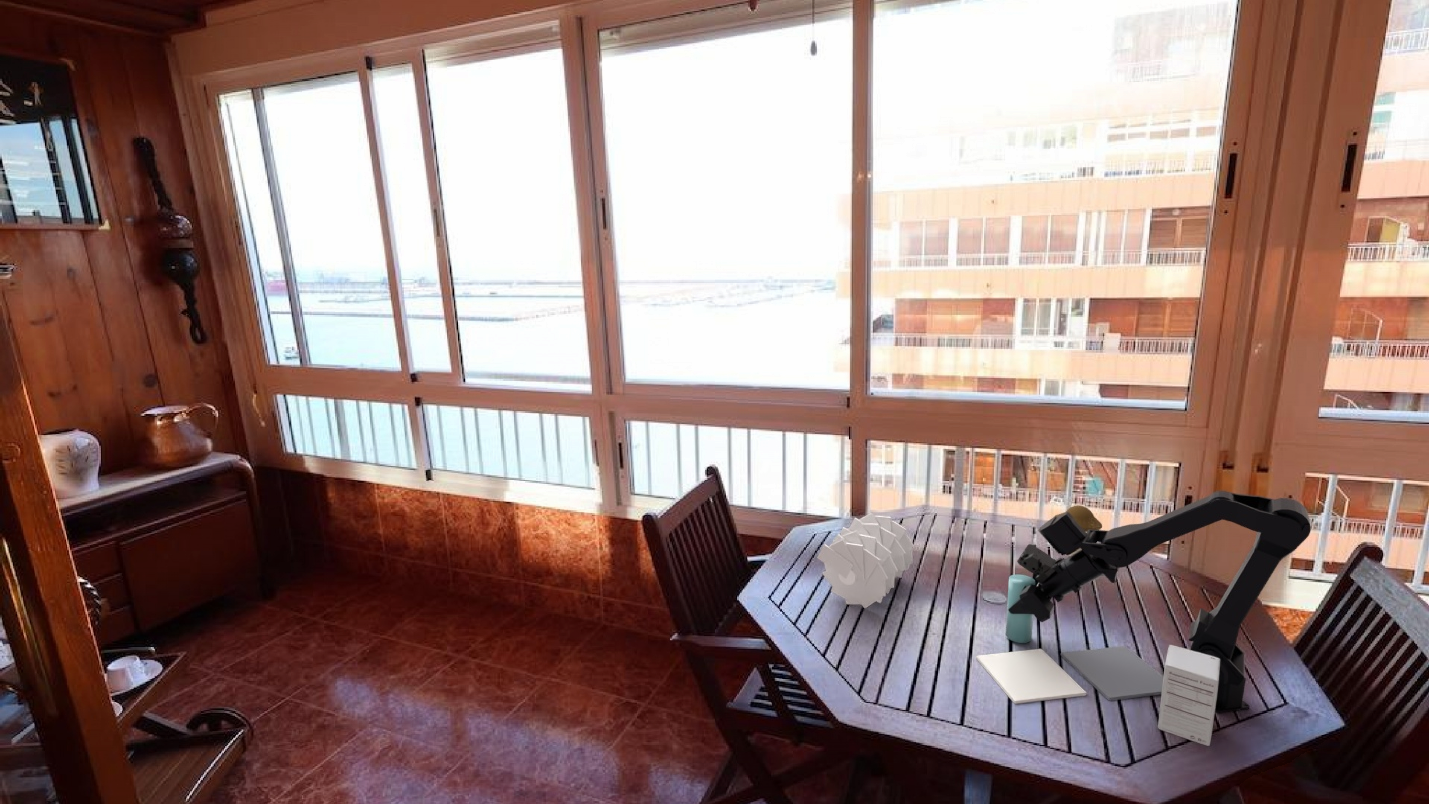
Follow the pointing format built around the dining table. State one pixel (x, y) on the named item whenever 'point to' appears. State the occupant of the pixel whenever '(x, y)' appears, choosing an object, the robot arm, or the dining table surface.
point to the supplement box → (1189, 694)
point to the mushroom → (1083, 519)
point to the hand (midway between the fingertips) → (1013, 606)
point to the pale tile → (1030, 676)
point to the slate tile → (1116, 672)
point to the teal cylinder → (1018, 623)
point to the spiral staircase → (867, 559)
